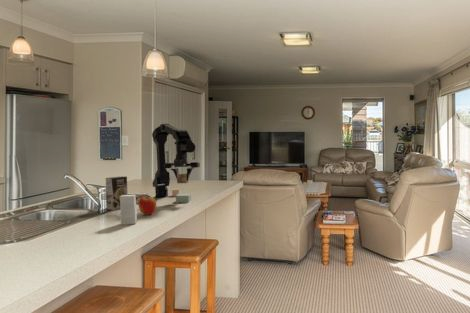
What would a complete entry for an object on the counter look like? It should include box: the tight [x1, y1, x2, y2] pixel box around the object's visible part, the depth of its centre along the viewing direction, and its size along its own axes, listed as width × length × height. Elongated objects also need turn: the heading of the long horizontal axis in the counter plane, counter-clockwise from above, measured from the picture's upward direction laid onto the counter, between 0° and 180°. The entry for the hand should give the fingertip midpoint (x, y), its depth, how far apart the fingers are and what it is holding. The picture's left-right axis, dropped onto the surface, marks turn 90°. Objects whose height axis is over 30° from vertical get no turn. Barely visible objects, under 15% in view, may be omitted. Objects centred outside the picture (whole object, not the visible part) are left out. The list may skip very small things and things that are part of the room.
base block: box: [175, 193, 192, 204], centre depth 249 cm, size 7×7×4 cm
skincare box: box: [119, 194, 138, 226], centre depth 191 cm, size 6×4×12 cm
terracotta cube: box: [171, 188, 180, 197], centre depth 272 cm, size 4×4×4 cm
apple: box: [138, 193, 157, 215], centre depth 211 cm, size 8×8×10 cm
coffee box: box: [105, 176, 129, 211], centre depth 232 cm, size 9×6×16 cm
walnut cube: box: [176, 172, 189, 184], centre depth 248 cm, size 5×5×5 cm
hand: (182, 180), depth 248 cm, fingers closed on walnut cube, 5 cm apart
